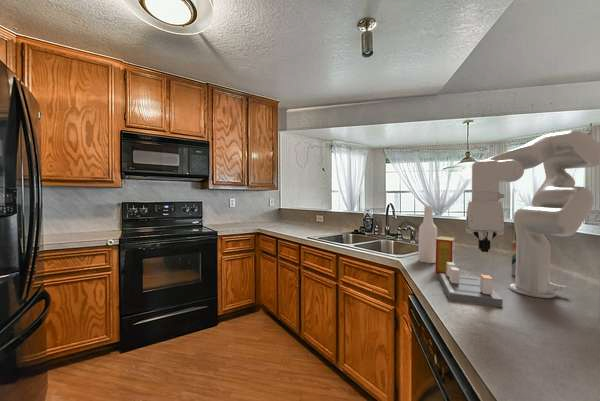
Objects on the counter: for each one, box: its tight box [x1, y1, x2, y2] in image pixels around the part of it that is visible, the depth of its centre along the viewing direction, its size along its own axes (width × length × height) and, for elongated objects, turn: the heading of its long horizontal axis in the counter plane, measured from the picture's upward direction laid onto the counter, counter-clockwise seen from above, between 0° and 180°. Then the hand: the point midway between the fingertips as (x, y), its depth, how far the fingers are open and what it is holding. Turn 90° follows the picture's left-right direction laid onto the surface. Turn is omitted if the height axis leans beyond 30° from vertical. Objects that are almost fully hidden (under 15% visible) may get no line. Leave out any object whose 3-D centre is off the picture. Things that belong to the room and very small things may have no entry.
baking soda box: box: [435, 236, 456, 274], centre depth 123 cm, size 10×6×16 cm
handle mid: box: [450, 266, 461, 284], centre depth 100 cm, size 2×4×5 cm, turn 159°
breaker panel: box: [438, 273, 504, 308], centre depth 98 cm, size 15×24×3 cm, turn 159°
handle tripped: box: [479, 274, 494, 295], centre depth 89 cm, size 2×4×5 cm, turn 159°
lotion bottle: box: [511, 231, 516, 277], centre depth 117 cm, size 6×6×20 cm
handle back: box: [446, 262, 456, 277], centre depth 107 cm, size 2×4×5 cm, turn 159°
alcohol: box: [417, 205, 438, 264], centre depth 141 cm, size 9×9×30 cm
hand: (484, 251), depth 89 cm, fingers closed
